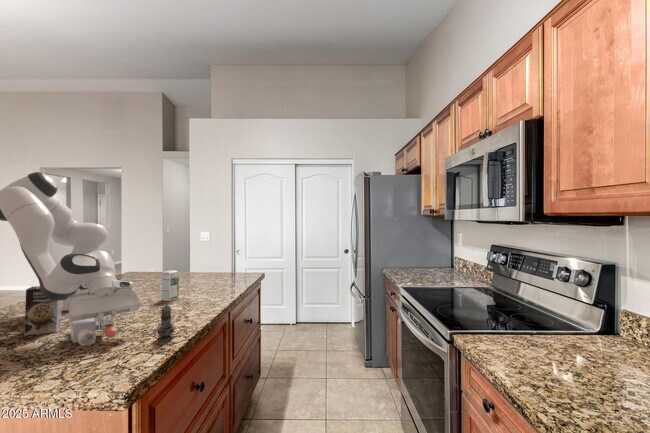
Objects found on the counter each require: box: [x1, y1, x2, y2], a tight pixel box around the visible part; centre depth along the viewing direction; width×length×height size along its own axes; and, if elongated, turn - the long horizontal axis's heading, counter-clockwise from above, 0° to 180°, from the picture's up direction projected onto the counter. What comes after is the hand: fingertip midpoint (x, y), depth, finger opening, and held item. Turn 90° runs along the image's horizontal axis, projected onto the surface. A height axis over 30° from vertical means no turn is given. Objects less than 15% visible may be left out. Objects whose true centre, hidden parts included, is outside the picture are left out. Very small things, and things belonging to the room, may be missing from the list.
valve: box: [70, 318, 100, 347], centre depth 111 cm, size 18×7×6 cm, turn 44°
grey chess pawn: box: [156, 303, 176, 342], centre depth 111 cm, size 6×6×12 cm
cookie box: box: [23, 285, 62, 336], centre depth 117 cm, size 9×6×16 cm
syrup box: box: [161, 269, 180, 302], centre depth 164 cm, size 6×6×14 cm
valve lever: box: [98, 321, 118, 338], centre depth 109 cm, size 3×3×18 cm
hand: (108, 325), depth 106 cm, fingers closed, pressing on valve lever
